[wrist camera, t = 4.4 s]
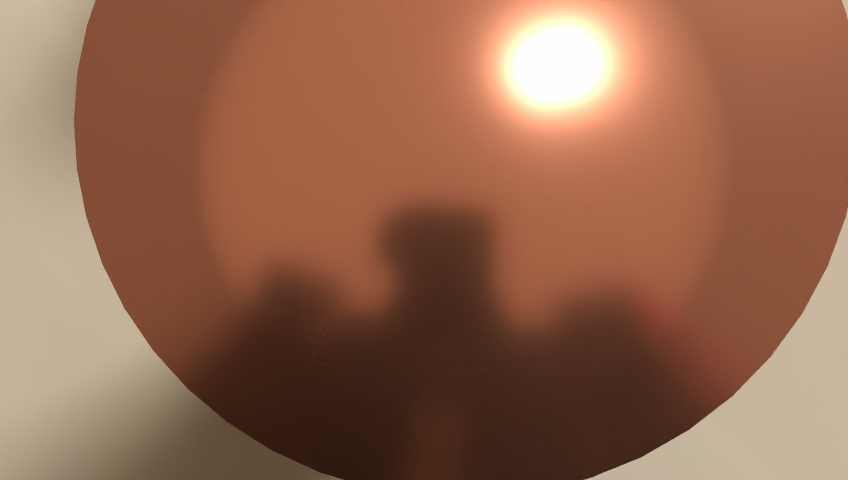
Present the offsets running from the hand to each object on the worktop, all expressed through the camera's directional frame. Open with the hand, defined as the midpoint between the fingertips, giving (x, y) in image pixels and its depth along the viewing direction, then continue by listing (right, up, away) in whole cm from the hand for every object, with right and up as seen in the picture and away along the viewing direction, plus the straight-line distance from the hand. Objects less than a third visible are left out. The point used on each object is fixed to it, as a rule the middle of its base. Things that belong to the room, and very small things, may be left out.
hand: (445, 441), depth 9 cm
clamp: (+1, +8, +8) cm, 12 cm away
